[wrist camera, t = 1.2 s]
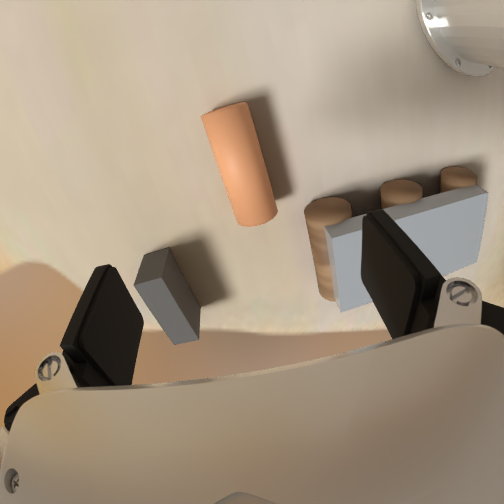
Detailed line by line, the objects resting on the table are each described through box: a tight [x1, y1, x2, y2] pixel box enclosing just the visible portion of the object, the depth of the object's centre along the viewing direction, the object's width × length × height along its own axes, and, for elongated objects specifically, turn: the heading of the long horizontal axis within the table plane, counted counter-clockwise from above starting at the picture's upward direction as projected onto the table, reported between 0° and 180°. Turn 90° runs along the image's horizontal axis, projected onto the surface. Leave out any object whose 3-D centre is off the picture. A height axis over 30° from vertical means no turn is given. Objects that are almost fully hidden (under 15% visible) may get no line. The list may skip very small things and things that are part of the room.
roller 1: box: [201, 102, 278, 227], centre depth 25 cm, size 10×4×4 cm
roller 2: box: [304, 197, 352, 302], centre depth 30 cm, size 10×4×4 cm, turn 15°
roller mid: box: [380, 179, 423, 209], centre depth 29 cm, size 10×4×4 cm, turn 16°
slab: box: [324, 184, 488, 312], centre depth 27 cm, size 18×9×2 cm, turn 106°
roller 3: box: [440, 167, 477, 193], centre depth 28 cm, size 10×4×4 cm, turn 15°
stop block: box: [134, 248, 201, 345], centre depth 31 cm, size 3×9×5 cm, turn 15°
